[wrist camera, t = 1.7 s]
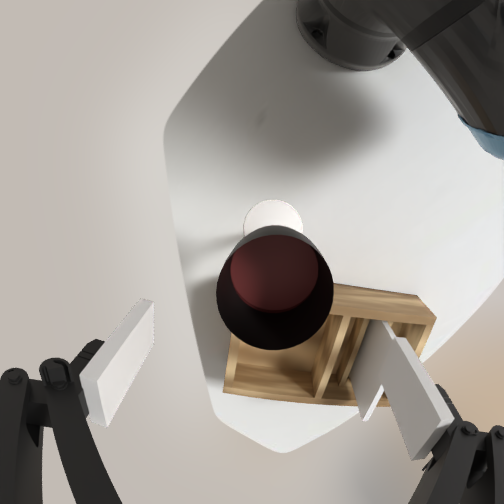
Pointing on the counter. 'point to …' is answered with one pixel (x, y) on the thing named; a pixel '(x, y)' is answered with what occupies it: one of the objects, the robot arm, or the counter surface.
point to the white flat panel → (370, 366)
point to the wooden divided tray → (327, 350)
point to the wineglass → (274, 281)
